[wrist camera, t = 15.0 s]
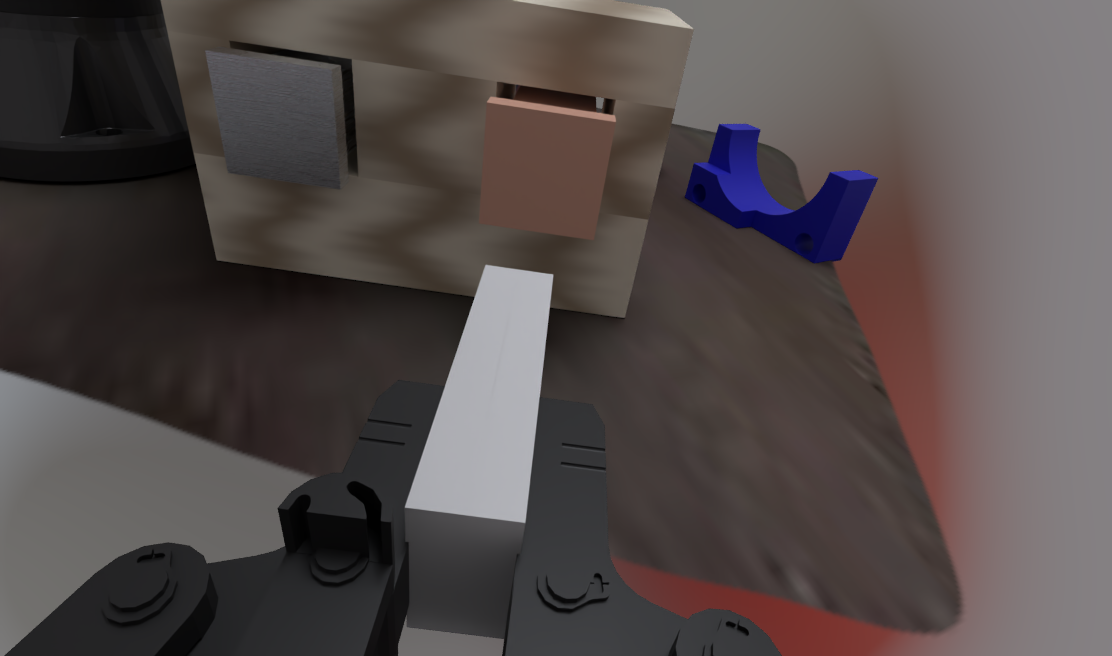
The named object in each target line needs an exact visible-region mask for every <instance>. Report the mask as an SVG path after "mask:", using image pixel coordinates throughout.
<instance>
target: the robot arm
mask: <svg viewBox="0 0 1112 656" xmlns="http://www.w3.org/2000/svg"><path fill="white" fill-rule="evenodd" d="M193 164H196V162H195V157H194V153H193V148H192V143H191V139H190V134H189V129H188V125H187V120H186V115H185V111H184V106H183V102H182V97H181V92H180V88H179V83H178V78H177V74H176V69H175V64H174V60H173V55H172V51H171V46H170V41H169V37H168V32H167V27H166V23H165V18H164V13H163V9H162V4H161V0H0V177H6V178H14V179H23V180H36V181H99V180H113V179H123V178H132V177H140V176H146V175H152V174H158V173H163V172H168V171H172V170H176V169H180V168H184V167H187V166H190V165H193ZM552 283H553V274H546V273H539V272H532V271H525V270H518V269H511V268H504V267H497V266H490V265H485V268H484V271H483V274H482V277H481V280H480V283H479V286H478V289H477V292H476V295H475V298H474V301H473V304H472V307H471V310H470V313H469V316H468V319H467V322H466V325H465V328H464V331H463V334H462V337H461V340H460V343H459V346H458V349H457V352H456V355H455V358H454V361H453V364H452V367H451V370H450V373H449V376H448V379H447V382H446V385H445V386H440V385H433V384H425V383H418V382H410V381H403V380H398V381H397V382H396V383H394V384H393V385H392V386H391V387H390V388H388V389H387V390H386V391H385V392H384V393H382V394H381V395H380V396H379V397H378V399H377V401H376V403H375V405H374V407H373V409H372V411H371V413H370V415H369V418H368V422H367V423H366V424H365V426H364V428H363V430H362V432H361V434H360V436H359V441H358V442H357V443H356V445H355V447H354V449H353V451H352V453H351V455H350V457H349V460H348V462H347V464H346V466H345V468H344V470H343V472H342V473H330V474H327V475H324V476H321V477H317V478H314V479H311V480H309V481H307V482H306V483H304V484H303V485H301V486H300V487H298V488H296V489H295V490H293V491H292V492H291V493H290V494H289V495H288V496H287V498H286V499H285V500H284V502H283V503H282V504H281V505H280V506H279V507H278V512H279V517H280V522H281V527H282V532H283V537H284V542H285V547H282V548H280V549H278V550H276V551H273V552H269V553H265V554H261V555H257V556H251V557H245V558H239V559H233V560H227V561H221V562H215V563H208V564H207V563H206V561H205V558H204V556H203V555H202V554H200V553H199V552H197V551H196V550H195V549H193V548H192V547H190V546H187V545H181V544H175V543H163V544H156V545H149V546H144V547H141V548H139V549H136V550H134V551H132V552H129V553H127V554H124V555H122V556H120V557H118V558H117V559H115V560H113V561H112V562H111V563H109V564H108V565H106V566H105V567H104V568H102V569H101V570H99V571H98V572H97V573H95V574H94V575H93V576H92V577H91V578H90V579H89V580H87V581H86V582H85V583H84V584H83V585H82V586H81V587H80V588H79V589H77V590H76V591H75V592H74V593H73V594H72V595H71V596H70V597H69V598H68V599H66V600H65V601H64V602H63V603H62V604H61V605H60V606H59V607H58V608H57V609H55V610H54V611H53V612H52V613H51V614H50V615H49V616H48V617H47V618H46V619H44V620H43V621H42V622H41V623H40V624H39V625H38V626H37V627H36V628H34V629H33V630H32V631H31V632H30V633H29V634H28V635H27V636H26V637H24V638H23V639H22V640H21V641H20V642H19V643H18V644H17V645H16V646H15V647H14V648H12V649H11V650H10V651H9V652H8V653H7V654H6V655H5V656H398V643H399V639H400V636H401V632H402V628H403V625H404V621H405V617H406V614H407V627H410V628H419V629H427V630H435V631H443V632H451V633H460V634H468V635H476V636H484V637H493V638H501V639H504V646H503V654H502V656H782V655H781V654H780V652H779V651H778V649H777V648H776V646H775V645H774V643H773V642H772V640H771V639H770V637H769V636H768V635H767V634H766V633H765V632H764V631H762V630H761V629H760V628H759V627H758V626H757V625H755V624H754V623H753V622H752V621H751V620H749V619H747V618H745V617H743V616H741V615H738V614H736V613H734V612H732V611H730V610H720V609H707V610H704V611H701V612H698V613H695V614H692V615H691V617H690V618H689V619H686V618H684V617H681V616H679V615H677V614H675V613H673V612H671V611H668V610H666V609H664V608H662V607H660V606H658V605H655V604H653V603H651V602H649V601H648V600H646V599H644V598H643V597H641V596H639V595H638V594H637V593H635V592H634V591H633V590H632V589H631V588H630V587H629V586H627V585H626V584H625V582H624V581H623V580H622V578H621V577H620V576H619V574H618V573H617V572H616V569H615V567H614V565H613V563H612V560H611V558H610V552H609V546H608V519H607V487H606V472H605V470H606V455H605V425H604V424H603V422H602V420H601V418H600V417H599V415H598V413H597V411H596V409H595V408H594V406H593V404H586V403H579V402H571V401H564V400H557V399H549V398H542V397H540V389H541V380H542V371H543V362H544V353H545V345H546V336H547V327H548V318H549V309H550V300H551V292H552Z"/></svg>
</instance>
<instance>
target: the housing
mask: <svg viewBox="0 0 1112 656" xmlns="http://www.w3.org/2000/svg"><path fill="white" fill-rule="evenodd" d="M161 4H162V9H163V13H164V18H165V23H166V27H167V32H168V37H169V41H170V46H171V51H172V55H173V60H174V64H175V69H176V74H177V78H178V83H179V88H180V92H181V97H182V102H183V106H184V111H185V115H186V120H187V125H188V129H189V134H190V139H191V143H192V148H193V153H194V157H195V162H196V166H197V171H198V176H199V180H200V185H201V190H202V194H203V199H204V204H205V208H206V213H207V217H208V222H209V227H210V231H211V236H212V241H213V245H214V250H215V255H216V259H217V260H218V261H225V262H232V263H239V264H246V265H253V266H261V267H268V268H275V269H282V270H289V271H296V272H303V273H310V274H317V275H324V276H331V277H338V278H345V279H352V280H359V281H366V282H373V283H380V284H387V285H395V286H402V287H409V288H416V289H423V290H430V291H437V292H444V293H451V294H458V295H465V296H472V297H475V295H476V292H477V289H478V286H479V283H480V280H481V277H482V274H483V271H484V268H485V265H490V266H497V267H504V268H511V269H518V270H525V271H532V272H539V273H546V274H553V283H552V292H551V300H550V308H557V309H564V310H571V311H578V312H585V313H592V314H599V315H606V316H613V317H620V318H625V315H626V311H627V307H628V303H629V299H630V294H631V290H632V286H633V282H634V278H635V274H636V269H637V265H638V261H639V257H640V253H641V248H642V244H643V240H644V236H645V232H646V228H647V223H648V219H649V215H650V211H651V207H652V202H653V198H654V194H655V190H656V186H657V182H658V177H659V173H660V169H661V165H662V161H663V156H664V152H665V148H666V144H667V140H668V135H669V131H670V127H671V123H672V119H673V115H674V110H675V106H676V102H677V97H678V94H679V89H680V85H681V81H682V77H683V73H684V69H685V64H686V60H687V56H688V51H689V48H690V43H691V39H692V35H693V31H694V29H693V28H692V27H690V26H689V25H688V24H687V23H685V22H684V21H683V20H681V19H680V18H679V17H677V16H676V15H675V14H673V13H672V12H671V11H669V10H668V9H663V8H657V7H650V6H644V5H638V4H632V3H624V2H619V1H612V0H161ZM216 47H225V48H231V49H238V50H244V51H251V52H257V53H264V54H270V55H271V54H274V53H277V52H280V51H283V50H286V49H289V50H296V51H302V52H309V53H315V54H322V55H328V56H335V57H341V58H348V59H352V72H353V89H354V107H355V124H356V141H357V148H356V149H354V150H353V151H352V152H351V153H350V154H348V155H347V162H348V177H349V182H348V183H347V184H346V185H345V186H344V187H343V188H342V189H341V190H340V189H333V188H327V187H320V186H313V185H306V184H299V183H292V182H286V181H279V180H272V179H265V178H258V177H252V176H245V175H238V174H231V173H228V171H227V165H226V160H225V155H224V149H223V144H222V138H221V133H220V128H219V122H218V117H217V112H216V106H215V101H214V95H213V90H212V85H211V79H210V74H209V69H208V63H207V58H206V52H205V50H208V49H212V48H216ZM516 84H517V85H523V86H530V87H536V88H543V89H549V90H556V91H562V92H569V93H575V94H582V95H588V96H595V97H601V98H604V102H603V108H602V114H608V115H615V119H616V125H615V130H614V135H613V141H612V146H611V152H610V157H609V162H608V168H607V173H606V178H605V184H604V189H603V194H602V200H601V205H600V210H599V216H598V221H597V226H596V232H595V237H594V240H589V239H582V238H575V237H568V236H561V235H554V234H547V233H541V232H534V231H527V230H520V229H513V228H506V227H499V226H493V225H486V224H479V214H480V198H481V183H482V167H483V152H484V136H485V121H486V105H487V101H488V100H489V98H490V97H497V98H504V99H510V100H513V99H514V97H515V93H516Z"/></svg>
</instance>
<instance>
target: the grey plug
mask: <svg viewBox="0 0 1112 656" xmlns="http://www.w3.org/2000/svg"><path fill="white" fill-rule="evenodd" d="M205 52H206V58H207V63H208V69H209V74H210V79H211V85H212V90H213V95H214V101H215V106H216V112H217V117H218V122H219V128H220V133H221V138H222V144H223V149H224V155H225V160H226V165H227V171H228V173H231V174H238V175H245V176H252V177H258V178H265V179H272V180H279V181H286V182H292V183H299V184H306V185H313V186H320V187H327V188H333V189H340V190H341V189H342V188H343V187H344V186H345V185H346V184H347V183H348V182H349V177H348V162H347V155H348V154H350V153H351V152H352V151H353V150H354V149H356V148H357V141H356V124H355V107H354V89H353V72H352V59H348V58H341V57H335V56H328V55H322V54H315V53H309V52H302V51H296V50H289V49H286V50H283V51H280V52H277V53H274V54H271V55H270V54H264V53H257V52H251V51H244V50H238V49H231V48H225V47H216V48H212V49H208V50H205Z"/></svg>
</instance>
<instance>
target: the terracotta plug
mask: <svg viewBox="0 0 1112 656" xmlns="http://www.w3.org/2000/svg"><path fill="white" fill-rule="evenodd" d="M615 125H616V119H615V115H608V114H602V113H596V97H595V96H588V95H582V94H575V93H569V92H562V91H556V90H549V89H543V88H536V87H530V86H523V85H520V87H519V89H518V91H517V93H516V95H515V97H514V99H513V100H510V99H504V98H497V97H490V98H489V100H488V101H487V105H486V121H485V136H484V152H483V167H482V183H481V198H480V214H479V224H486V225H493V226H499V227H506V228H513V229H520V230H527V231H534V232H541V233H547V234H554V235H561V236H568V237H575V238H582V239H589V240H594V237H595V232H596V226H597V221H598V216H599V210H600V205H601V200H602V194H603V189H604V184H605V178H606V173H607V168H608V162H609V157H610V152H611V146H612V141H613V135H614V130H615Z"/></svg>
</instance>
